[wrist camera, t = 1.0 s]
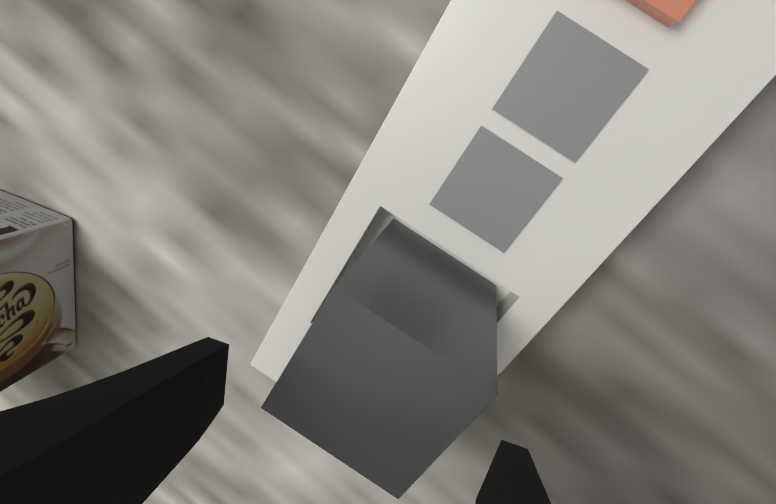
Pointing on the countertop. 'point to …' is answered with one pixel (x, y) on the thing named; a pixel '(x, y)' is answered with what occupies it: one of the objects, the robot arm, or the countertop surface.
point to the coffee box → (34, 287)
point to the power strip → (539, 145)
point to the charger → (393, 360)
